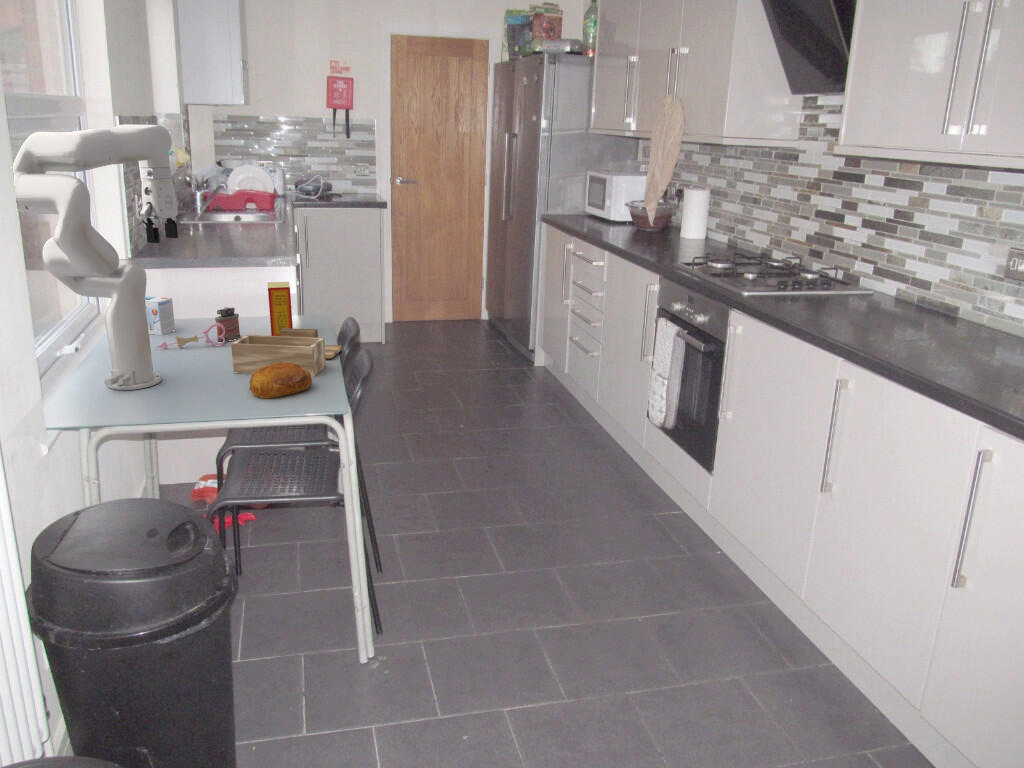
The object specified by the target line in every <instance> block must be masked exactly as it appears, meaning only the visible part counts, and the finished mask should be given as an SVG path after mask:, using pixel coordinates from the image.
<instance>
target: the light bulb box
mask: <svg viewBox="0 0 1024 768" xmlns="http://www.w3.org/2000/svg"><path fill="white" fill-rule="evenodd" d="M145 302H146V314H147V322H148V330H149V335H153V334H154V336H164V335H166V334H165V333H167V334H169V333H168V332H170V333H172V332H171V331H173V330H175V331H176V325H175V324H176V323H175V317H174V316H175V315H174V307H173V298H172V297H163V296H153V295H152V296H151V295H145ZM173 332H174V331H173ZM163 334H164V335H163Z"/></svg>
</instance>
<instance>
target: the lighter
mask: <svg viewBox="0 0 1024 768" xmlns="http://www.w3.org/2000/svg"><path fill="white" fill-rule="evenodd" d="M235 310H236V309H235V307H224V308H220V309H217V310H216V314H217V315H219V316H217V317H216V316H215V317H214V321H215V323H218V324H221V325H223V327H224V328H225V334H224V336H223V337H224V338H225V341H229V340H233V341H235V340H234V339H237V340H239V339H238V338H240V337H241V333H240V322H239V317H240V316H239V313H237V312H236V313H235ZM215 327H216V334H217V339H216V341H218V342H223V339H222V338H220V337H219V336H221V335H222V334H223V332H224V331H223V329H222V328H221V327H219V326H215ZM241 338H242V337H241ZM241 338H240V339H241ZM218 342H217V343H218ZM229 342H230V341H229Z"/></svg>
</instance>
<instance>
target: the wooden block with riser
mask: <svg viewBox="0 0 1024 768" xmlns="http://www.w3.org/2000/svg"><path fill="white" fill-rule="evenodd" d="M318 334H319V332H318V329H315V328H314V329H313V328H294V327H293V328H283V329H282V330H280V336H287V337H311V338H319V335H318ZM342 350H343V345H341V344H339V345H334V344H325V358H326V360H329V359H333V358H334V357H336V355H338V354H339V353H340V352H341V351H342Z"/></svg>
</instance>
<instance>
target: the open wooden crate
mask: <svg viewBox="0 0 1024 768" xmlns="http://www.w3.org/2000/svg"><path fill="white" fill-rule="evenodd" d="M325 345H326V342H325V337H318V338H311V337H287V336H271V335H260V334H259V335H256V334H246V335H243V336H242V337H241V338H240V339H237V340H235V341H234V342H232V343H231V344H230V347H231V358H232V367H233V373H234V372H237V373H236V374H242V373H249V374H248V375H253V373H255V372H256V371H257V370H258V369H260V368H262V367H265V366H269V365H271V364H275V363H279V362H282V363H284V362H286V363H293V364H297V365H299V366H300V367H302V368H303V369H305V370H307V371H308V372H309V373H310V375H311V378H314V377H316V376H317V375H318V374H319V373H320V372H321V371H322V370H324V369H325V368H326V367H327V363H326V362H327V359H326V358H325Z"/></svg>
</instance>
